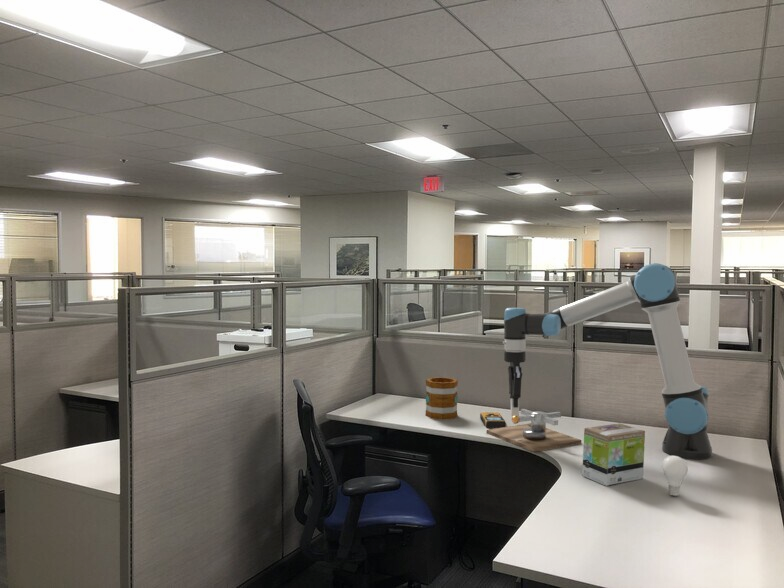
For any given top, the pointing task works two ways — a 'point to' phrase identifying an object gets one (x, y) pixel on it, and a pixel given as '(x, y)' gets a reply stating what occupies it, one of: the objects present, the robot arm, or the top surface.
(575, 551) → the top surface
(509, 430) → the wooden board
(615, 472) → the tea box
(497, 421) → the electronic device
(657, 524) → the top surface
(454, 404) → the mug
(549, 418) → the capstan
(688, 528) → the top surface
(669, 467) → the lightbulb
